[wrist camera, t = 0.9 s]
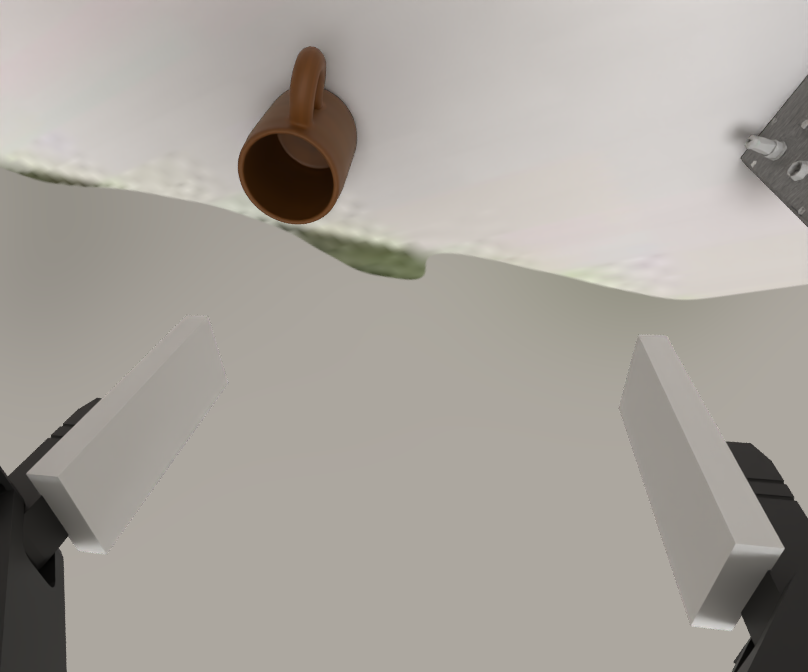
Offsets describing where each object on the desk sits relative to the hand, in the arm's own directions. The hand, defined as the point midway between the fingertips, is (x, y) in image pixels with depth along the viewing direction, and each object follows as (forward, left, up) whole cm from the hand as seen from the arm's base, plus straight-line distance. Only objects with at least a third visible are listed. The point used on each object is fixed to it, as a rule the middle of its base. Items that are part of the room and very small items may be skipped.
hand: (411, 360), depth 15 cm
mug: (+4, -9, -31) cm, 33 cm away
